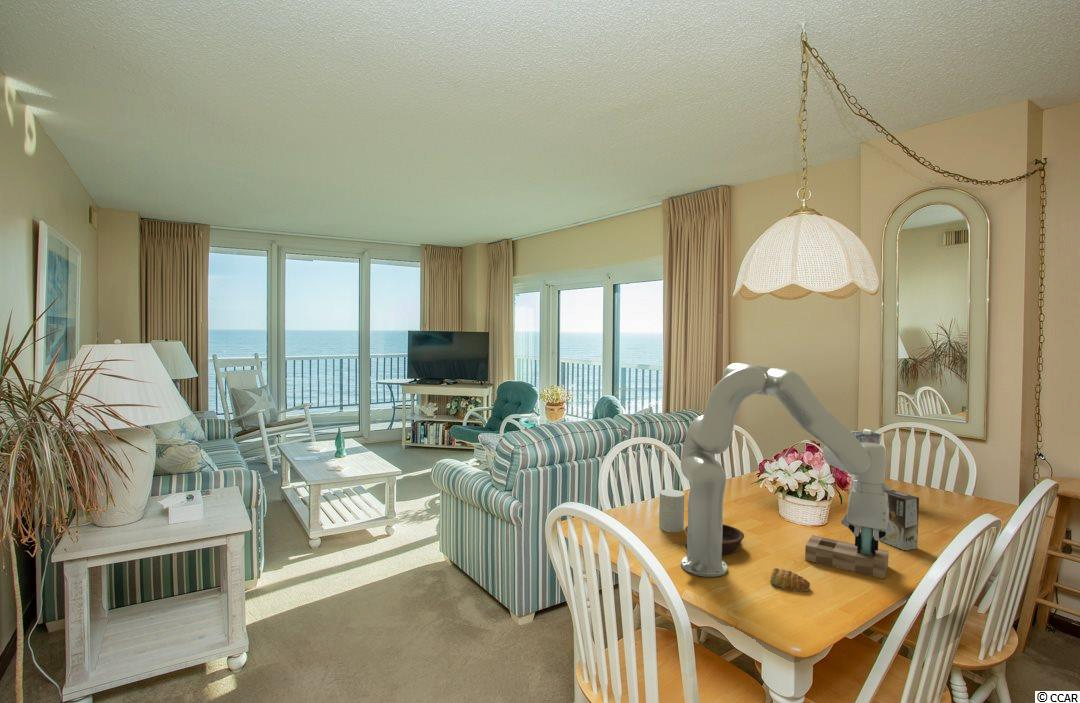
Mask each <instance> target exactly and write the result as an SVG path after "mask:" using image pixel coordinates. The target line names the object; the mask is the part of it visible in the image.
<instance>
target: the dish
mask: <svg viewBox="0 0 1080 703" xmlns="http://www.w3.org/2000/svg"><path fill="white" fill-rule="evenodd" d="M687 531H688V525H687V526H686V527H684V532H685V534H686V535H687ZM744 538H745V534H744V532H743V531H741V530H740V529H738V528H736V527H734V526H731V525H727V524H723V530H722V555H730V554H733V553H735V552H736V551H737V550H738V549H739V548H740V546H741V543H742V541H743V539H744ZM684 547H685V549H686V550H687V540H686V541H685V543H684Z"/></svg>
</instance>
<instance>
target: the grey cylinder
mask: <svg viewBox="0 0 1080 703" xmlns="http://www.w3.org/2000/svg"><path fill="white" fill-rule="evenodd" d="M658 504H659V508H658V509H659V510H658V511H659V513H658V515H659V516H658V528H659V530H661V529H662V531H663V532H667V531H669V532H668V533H680V532H679V531H681V532H683V531H684V530H685V492H683V491H681V490H677V489H672V488H671V489H662V490H659V503H658ZM683 529H684V530H683ZM682 530H683V531H682Z"/></svg>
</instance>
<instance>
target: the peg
mask: <svg viewBox="0 0 1080 703" xmlns="http://www.w3.org/2000/svg"><path fill="white" fill-rule="evenodd" d="M860 533H861V549H860V554H864V555H868V556H872V553H871V552H872V539H873V536H874V529H871V528H866V527H861V528H860Z"/></svg>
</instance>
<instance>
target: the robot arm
mask: <svg viewBox="0 0 1080 703" xmlns="http://www.w3.org/2000/svg"><path fill="white" fill-rule="evenodd" d="M753 395H762V396H770V397H774V398H777V400H778V401H779V402H780V403H781V405H783V407H784V408H785V409H786V411H787V413H789V414H790V416H791V417H792V418H793V419H794V420H795V423H796V424H797V425H798V426H799V427H800V428H801V429H803V430H804V432H806V433H807V434H809V435H810V436H812V437H814V438H815V439H817V440H818V441H820V442H821V443H822V444H823V445H824V447H823V448H822V458H823V459H824V460H825V462H826V463H827V464H829V465H830V466H832V467H834V468H836V469H839V470H840V471H844V472H845V473H846V472H847V473H849V474H852V475H854V487H853V488H851V490H850V493H849V494H848V500H847V508H846V509H847V510H846V514H845V516H843V519H842V520H841V524H842V525H844V526H845V527H846V528H847V529H848V530H850V532H852V534H853V535H854V544H855V546H857V550H858V551H859V550H860V549H861V527H866V528H871V529H873V539H872V552H871V553H872V554H875V550H876V551H878V549H879V542H880V541H879V539H880V538H882V537H884V536H885V535H889V534H893V533H894V529H893V527H892V525H891V523H890V521H889V501H888V495H887V493H885V491H890V490H891V486H890V485H887V484H886V482H885V479H886V478H885V477H886V456H887V455H886V454H887V452H886V451H887V450H886V448H885V446H884V445H882V444H880V443H879V444H876V443H866V442H863V443H860V442H859V440H858V439H857V438H856V437H855V436H854V435H853V433H852V432H851V431H852V430H850V429H849V428H847V426H846V425H845V424H843V423H842V422H841V421H840V420H839V419H838V418H837V417H836V415H834V414H832V412H830V411H829V410H828V409H827V407H825V405H824V404H823V403H822V402H821V400H820V399H819V397H817V395H816V394H815V393H814V391H813V390H812V389H811V388H810V386H809V385H808V384H807V383H806V381H805V380H804V379H803V377H801V375H800V374H798V373H797V372H795V371H793V370H790V369H786V368H780V367H769V366H763V365H755V364H749V363H743V362H734V363H731V364H729V365H727V366H726V367H725V368H724V370H723V371H722V378H721V379H720V380H719V381H717V383H716V384H715V385H714V386H713V387H712V389H711V391H710V392H709V395H708V396H707V401H706V405H705V408H704V412H703V414H702V415H699V416H696V417H695V418H693V420H692V421H691V422H690V424H689V427H688V429H687V431H686V434H685V439H684V440H685V441H684V443H683V444H684V445H683V449H682V453H681V460H680V470H681V473H682V474H683V476H684V477H685V479H687V481H689V483H690V486H689V493H688V498H687V526H688V531H687V534H686V535H687V536H686V537H687V538H686V541H687V549H686V556H684V557H683V558H681V561H680V565H681V567H682V569H684V570H685V571H686V572H688V573H689V574H692V575H695V576H700V577H706V578H714V577H715V578H717V577H721V576H723V575H725V574H726V573H728V565H727V563H726V562H725V561H724V560H723V554H722V530H723V522H724V498H725V492H726V487H727V475H726V472H725V469H724V467H723V466H722V464H721V463H720V462H719V461H718V460H717V459H715V455H720V454H723V453H725V451H727V449H729V447H730V444H731V440H732V437H733V436H732V435H733V431H734V427H735V422H736V417H737V415H738V411H739V408H740V406H741V405H742V403H743V402H744V401H745V400H747V398H749V397H751V396H753ZM880 530H882V531H880Z"/></svg>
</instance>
